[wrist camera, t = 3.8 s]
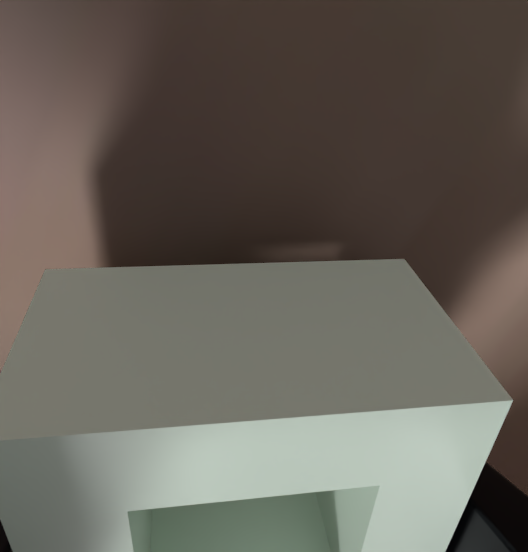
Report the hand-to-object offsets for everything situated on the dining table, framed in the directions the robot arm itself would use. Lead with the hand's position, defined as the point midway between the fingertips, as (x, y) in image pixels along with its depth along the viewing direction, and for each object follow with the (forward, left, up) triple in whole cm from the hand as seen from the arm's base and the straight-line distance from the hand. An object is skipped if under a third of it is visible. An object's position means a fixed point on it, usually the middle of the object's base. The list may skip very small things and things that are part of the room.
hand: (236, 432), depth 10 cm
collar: (0, 0, -1) cm, 1 cm away
